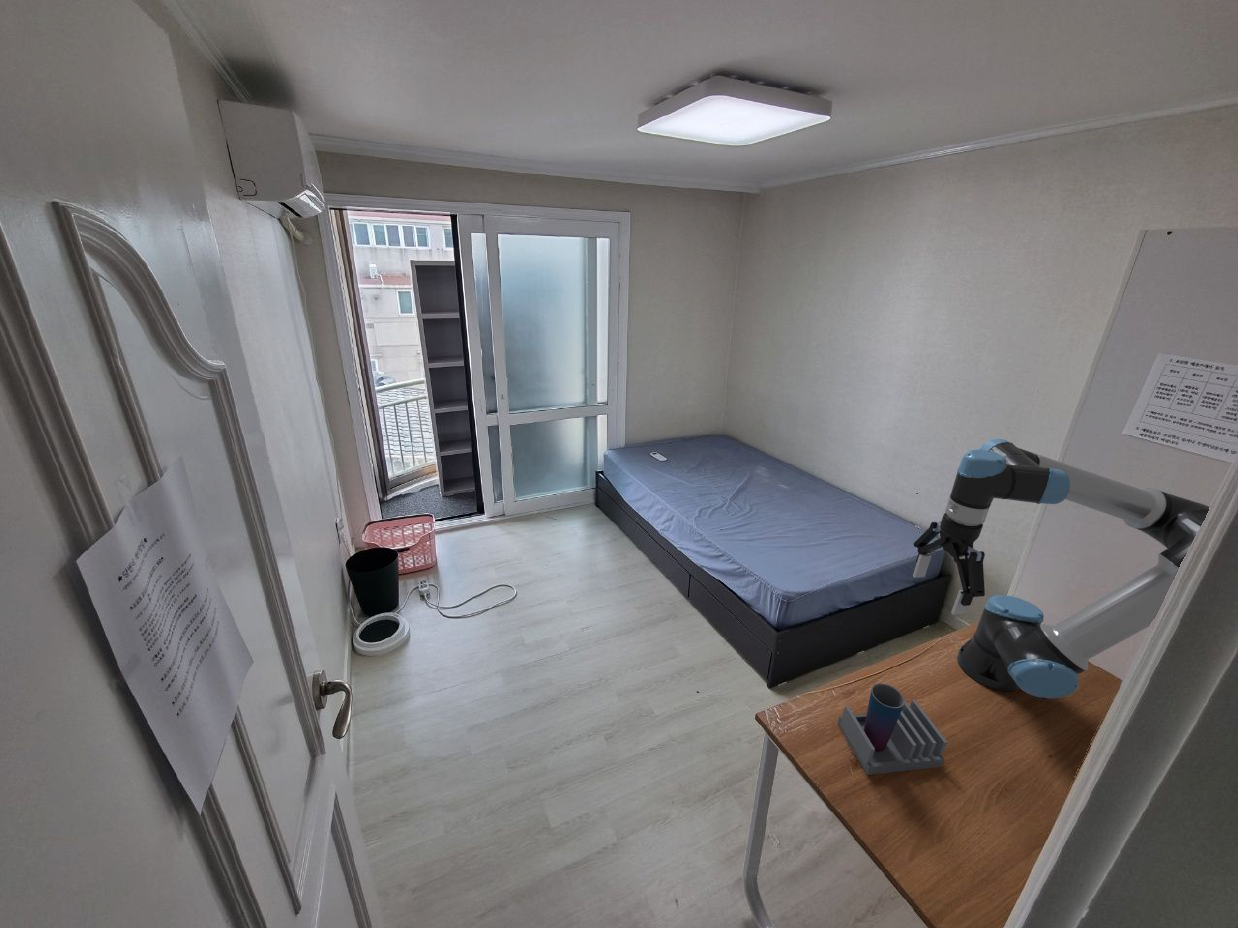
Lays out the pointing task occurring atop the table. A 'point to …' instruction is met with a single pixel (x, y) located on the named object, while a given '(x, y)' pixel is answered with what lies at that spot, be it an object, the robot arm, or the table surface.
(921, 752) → the rack
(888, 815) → the table surface
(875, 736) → the cup
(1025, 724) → the table surface
